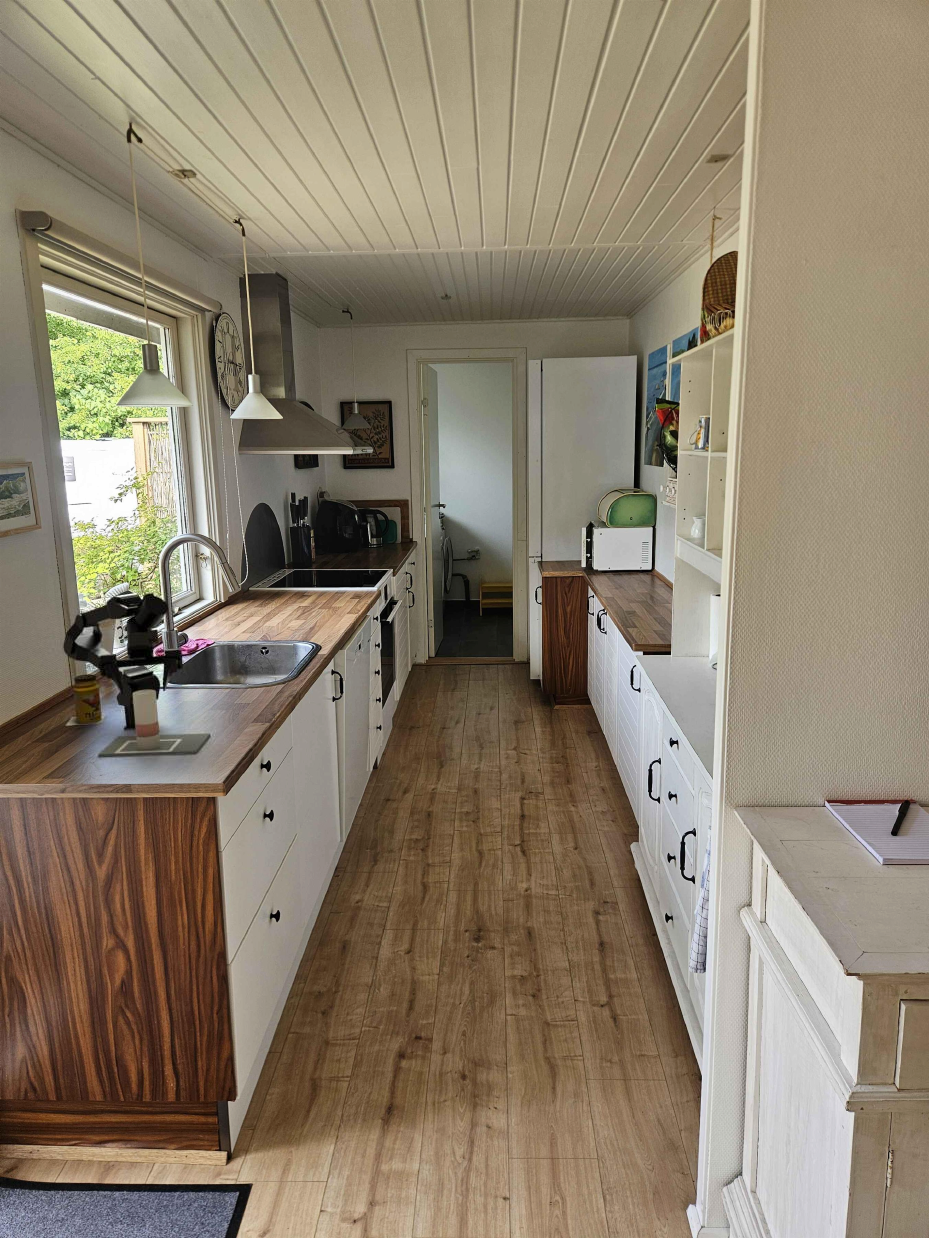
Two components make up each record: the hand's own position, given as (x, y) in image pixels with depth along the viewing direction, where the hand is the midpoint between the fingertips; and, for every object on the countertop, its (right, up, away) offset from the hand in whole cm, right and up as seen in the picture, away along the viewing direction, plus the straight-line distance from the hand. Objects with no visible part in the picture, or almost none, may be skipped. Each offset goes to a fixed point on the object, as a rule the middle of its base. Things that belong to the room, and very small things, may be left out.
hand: (143, 692), depth 197 cm
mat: (+3, -13, 0) cm, 13 cm away
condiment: (-23, -10, +21) cm, 33 cm away
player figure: (+2, -12, -2) cm, 13 cm away
